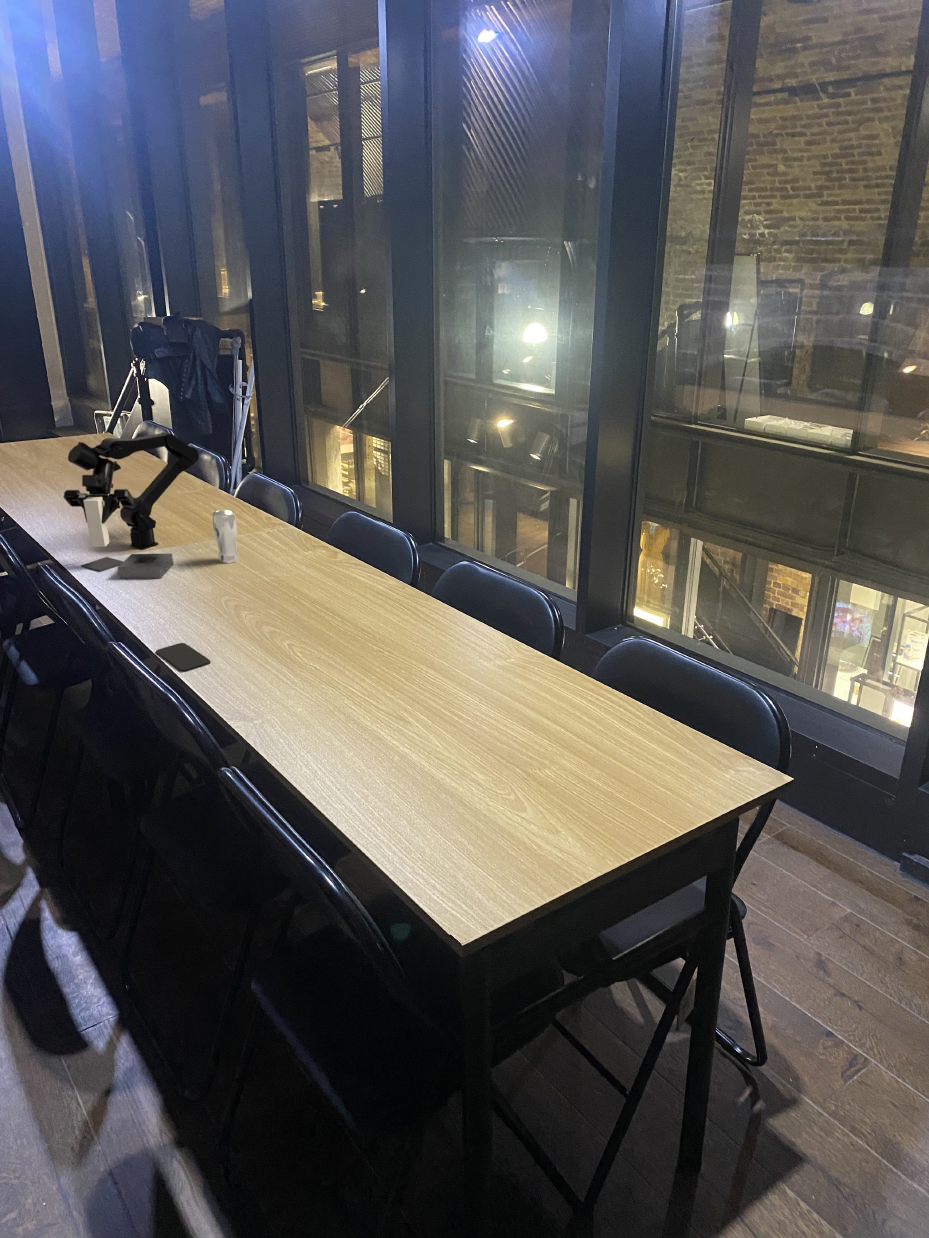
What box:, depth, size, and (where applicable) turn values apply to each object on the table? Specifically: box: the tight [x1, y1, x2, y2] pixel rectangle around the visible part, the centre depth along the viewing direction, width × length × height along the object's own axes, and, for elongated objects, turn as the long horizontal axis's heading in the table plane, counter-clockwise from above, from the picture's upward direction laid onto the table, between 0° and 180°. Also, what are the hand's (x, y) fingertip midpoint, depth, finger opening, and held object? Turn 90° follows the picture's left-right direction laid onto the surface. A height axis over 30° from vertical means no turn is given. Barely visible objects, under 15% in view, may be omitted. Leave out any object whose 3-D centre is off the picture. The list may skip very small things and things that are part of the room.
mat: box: [80, 556, 125, 573], centre depth 264 cm, size 9×9×1 cm
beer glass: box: [211, 509, 240, 564], centre depth 265 cm, size 7×7×15 cm
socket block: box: [117, 553, 174, 580], centre depth 258 cm, size 12×12×4 cm
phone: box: [155, 642, 212, 673], centre depth 203 cm, size 7×1×15 cm
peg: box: [84, 497, 110, 548], centre depth 259 cm, size 4×4×14 cm
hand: (95, 523), depth 257 cm, fingers closed on peg, 4 cm apart
